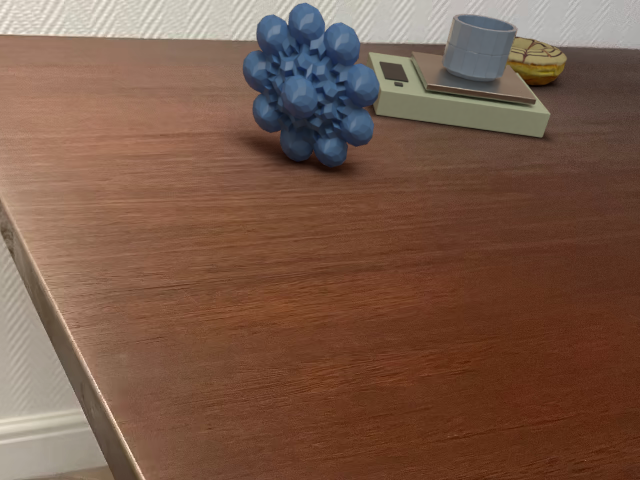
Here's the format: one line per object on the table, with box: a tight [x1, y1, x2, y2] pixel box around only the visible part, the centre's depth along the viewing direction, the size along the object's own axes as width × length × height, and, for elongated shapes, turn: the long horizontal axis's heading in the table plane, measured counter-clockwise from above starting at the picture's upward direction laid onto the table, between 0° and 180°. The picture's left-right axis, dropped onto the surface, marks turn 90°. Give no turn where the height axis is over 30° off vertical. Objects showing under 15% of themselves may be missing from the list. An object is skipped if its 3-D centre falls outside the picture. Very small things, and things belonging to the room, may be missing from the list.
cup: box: [441, 13, 519, 82], centre depth 83 cm, size 6×6×5 cm
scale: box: [365, 51, 551, 138], centre depth 86 cm, size 17×14×3 cm
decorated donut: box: [507, 36, 568, 86], centre depth 98 cm, size 10×11×4 cm
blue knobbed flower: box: [242, 2, 380, 168], centre depth 64 cm, size 12×7×12 cm, turn 67°
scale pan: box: [410, 50, 537, 105], centre depth 85 cm, size 11×12×1 cm
